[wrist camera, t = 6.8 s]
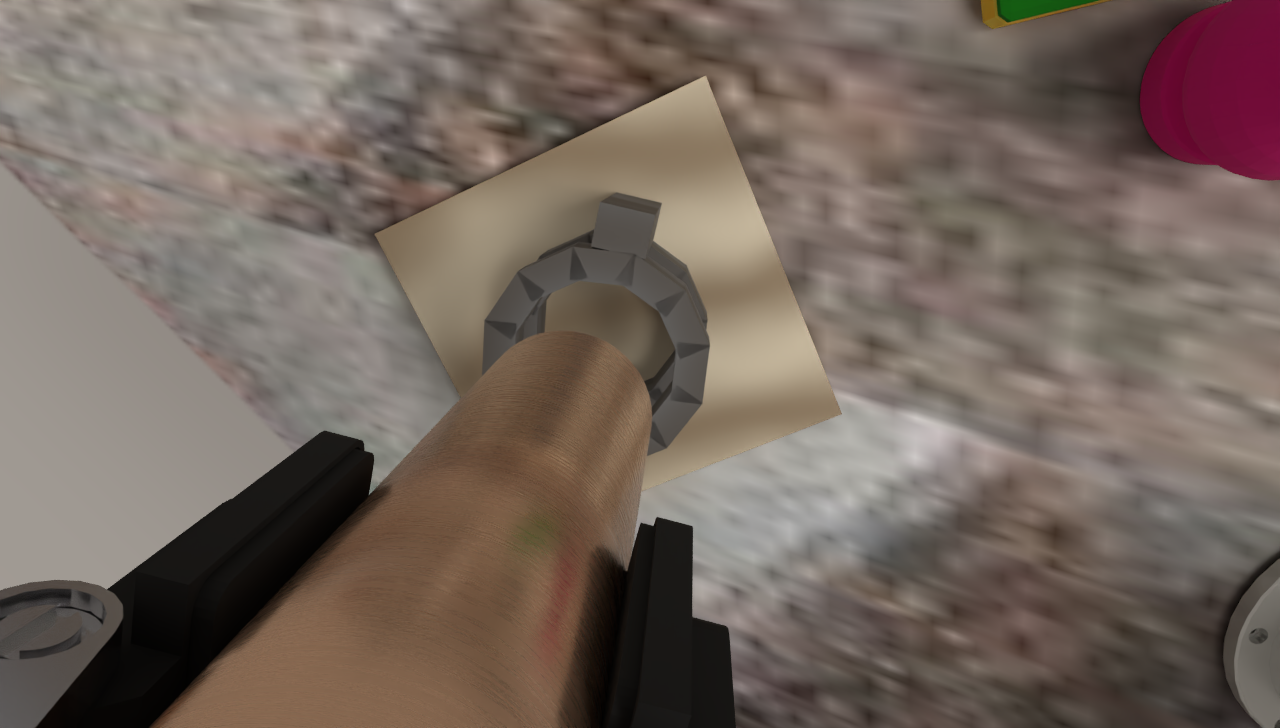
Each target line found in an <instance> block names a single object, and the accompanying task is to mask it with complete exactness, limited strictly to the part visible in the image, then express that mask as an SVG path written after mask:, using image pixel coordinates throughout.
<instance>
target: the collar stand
mask: <svg viewBox="0 0 1280 728" xmlns="http://www.w3.org/2000/svg"><path fill="white" fill-rule="evenodd" d="M375 236H376V238H377V240H378V242H379V243H380V245H381V247H382V249H383V251H384V253H385V255H386V257H387V259H388V261H389V262H390V264H391V266H392V268H393V270H394V272H395V274H396V276H397V278H398V280H399V281H400V283H401V285H402V287H403V289H404V291H405V293H406V295H407V297H408V299H409V300H410V302H411V304H412V306H413V308H414V310H415V312H416V314H417V316H418V318H419V319H420V321H421V323H422V325H423V327H424V329H425V331H426V333H427V335H428V336H429V338H430V340H431V342H432V344H433V346H434V348H435V350H436V352H437V354H438V355H439V357H440V359H441V361H442V363H443V365H444V367H445V369H446V371H447V373H448V374H449V376H450V378H451V380H452V382H453V384H454V386H455V388H456V390H457V392H458V393H459V395H460V397H461V398H462V397H463V396H464V395H465V394H466V393H467V392H468V390H469V389H470V388H471V387H472V386H473V385H474V384H475V383H476V382H477V381H478V380H479V379H480V378H481V377H482V376H483V375H484V374H485V373H486V372H487V370H488V369H489V368H490V367H491V366H492V365H493V364H494V363H495V362H496V361H497V360H498V359H499V358H500V357H501V356H502V355H503V354H504V353H505V352H506V351H507V350H508V349H509V348H511V347H512V346H514V345H515V344H517V343H518V342H520V341H522V340H524V339H526V338H528V337H530V336H533V335H536V334H539V333H544V332H549V331H575V332H580V333H585V334H588V335H591V336H594V337H597V338H599V339H601V340H603V341H605V342H607V343H609V344H610V345H612V346H613V347H615V348H616V349H618V350H619V351H620V352H621V353H622V354H624V355H625V356H626V357H627V358H628V359H629V360H630V361H631V363H632V364H633V365H634V366H635V368H636V369H637V370H638V372H639V373H640V375H641V377H642V379H643V381H644V383H645V385H646V388H647V390H648V393H649V397H650V401H651V407H652V426H651V433H650V439H649V446H648V452H647V458H646V464H645V471H644V477H643V483H642V490H641V491H643V490H646V489H649V488H651V487H654V486H656V485H659V484H662V483H664V482H667V481H669V480H672V479H675V478H677V477H680V476H682V475H685V474H688V473H690V472H693V471H695V470H698V469H701V468H703V467H706V466H708V465H711V464H713V463H716V462H719V461H721V460H724V459H726V458H729V457H732V456H734V455H737V454H739V453H742V452H745V451H747V450H750V449H752V448H755V447H758V446H760V445H763V444H765V443H768V442H771V441H773V440H776V439H778V438H781V437H784V436H786V435H789V434H791V433H794V432H796V431H799V430H802V429H804V428H807V427H809V426H812V425H815V424H817V423H820V422H822V421H825V420H828V419H830V418H833V417H835V416H838V415H841V414H842V413H841V411H840V408H839V406H838V403H837V401H836V398H835V396H834V393H833V391H832V388H831V386H830V383H829V381H828V379H827V376H826V374H825V371H824V369H823V366H822V364H821V361H820V359H819V356H818V354H817V351H816V349H815V346H814V344H813V341H812V339H811V336H810V334H809V331H808V329H807V326H806V324H805V321H804V319H803V316H802V314H801V312H800V309H799V307H798V304H797V302H796V299H795V297H794V294H793V292H792V289H791V287H790V284H789V282H788V279H787V277H786V274H785V272H784V269H783V267H782V264H781V262H780V259H779V257H778V254H777V252H776V249H775V247H774V245H773V242H772V240H771V237H770V235H769V232H768V230H767V227H766V225H765V222H764V220H763V217H762V215H761V212H760V210H759V207H758V205H757V202H756V200H755V197H754V195H753V192H752V190H751V187H750V185H749V182H748V180H747V177H746V175H745V173H744V170H743V168H742V165H741V163H740V160H739V158H738V155H737V153H736V150H735V148H734V145H733V143H732V140H731V138H730V135H729V133H728V130H727V128H726V125H725V123H724V120H723V118H722V115H721V113H720V110H719V108H718V106H717V103H716V101H715V98H714V96H713V93H712V91H711V88H710V86H709V83H708V81H707V78H706V76H704V77H702V78H700V79H698V80H696V81H693V82H691V83H689V84H687V85H685V86H683V87H681V88H679V89H677V90H675V91H673V92H670V93H668V94H666V95H664V96H662V97H660V98H658V99H656V100H654V101H652V102H650V103H647V104H645V105H643V106H641V107H639V108H637V109H635V110H633V111H631V112H629V113H627V114H624V115H622V116H620V117H618V118H616V119H614V120H612V121H610V122H608V123H606V124H604V125H601V126H599V127H597V128H595V129H593V130H591V131H589V132H587V133H585V134H583V135H581V136H578V137H576V138H574V139H572V140H570V141H568V142H566V143H564V144H562V145H560V146H558V147H555V148H553V149H551V150H549V151H547V152H545V153H543V154H541V155H539V156H537V157H535V158H532V159H530V160H528V161H526V162H524V163H522V164H520V165H518V166H516V167H514V168H512V169H509V170H507V171H505V172H503V173H501V174H499V175H497V176H495V177H493V178H491V179H489V180H486V181H484V182H482V183H480V184H478V185H476V186H474V187H472V188H470V189H468V190H466V191H463V192H461V193H459V194H457V195H455V196H453V197H451V198H449V199H447V200H445V201H443V202H440V203H438V204H436V205H434V206H432V207H430V208H428V209H426V210H424V211H422V212H420V213H417V214H415V215H413V216H411V217H409V218H407V219H405V220H403V221H401V222H399V223H397V224H394V225H392V226H390V227H388V228H386V229H384V230H382V231H380V232H378V233H376V234H375Z"/></svg>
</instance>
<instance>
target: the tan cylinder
mask: <svg viewBox="0 0 1280 728" xmlns="http://www.w3.org/2000/svg"><path fill="white" fill-rule="evenodd" d="M651 426H652V407H651V401H650V397H649V393H648V390H647V388H646V385H645V383H644V381H643V379H642V377H641V375H640V373H639V372H638V370H637V369H636V368H635V366H634V365H633V364H632V363H631V361H630V360H629V359H628V358H627V357H626V356H625V355H624V354H622V353H621V352H620V351H619V350H618V349H616V348H615V347H613V346H612V345H610V344H609V343H607V342H605V341H603V340H601V339H599V338H597V337H594V336H591V335H588V334H585V333H580V332H575V331H549V332H544V333H539V334H536V335H533V336H530V337H528V338H526V339H524V340H522V341H520V342H518V343H517V344H515V345H514V346H512V347H511V348H509V349H508V350H507V351H506V352H505V353H504V354H503V355H502V356H501V357H500V358H499V359H498V360H497V361H496V362H495V363H494V364H493V365H492V366H491V367H490V368H489V369H488V370H487V372H486V373H485V374H484V375H483V376H482V377H481V378H480V379H479V380H478V381H477V382H476V383H475V384H474V385H473V386H472V387H471V388H470V389H469V390H468V392H467V393H466V394H465V395H464V396H463V397H462V398H461V399H460V400H459V401H458V402H457V403H456V404H455V405H454V406H453V407H452V408H451V409H450V411H449V412H448V413H447V414H446V415H445V416H444V417H443V418H442V419H441V420H440V421H439V422H438V423H437V424H436V425H435V426H434V427H433V428H432V429H431V431H430V432H429V433H428V434H427V435H426V436H425V437H424V438H423V439H422V440H421V441H420V442H419V443H418V444H417V445H416V446H415V447H414V448H413V450H412V451H411V452H410V453H409V454H408V455H407V456H406V457H405V458H404V459H403V460H402V461H401V462H400V463H399V464H398V465H397V466H396V467H395V469H394V470H393V471H392V472H391V473H390V474H389V475H388V476H387V477H386V478H385V479H384V480H383V481H382V482H381V483H380V484H379V485H378V486H377V487H376V489H375V490H374V491H373V492H372V493H371V494H370V495H369V496H368V497H367V498H366V499H365V500H364V501H363V502H362V503H361V504H360V505H359V506H358V508H357V509H356V510H355V511H354V512H353V513H352V514H351V515H350V516H349V517H348V518H347V519H346V520H345V521H344V522H343V523H342V524H341V525H340V526H339V528H338V529H337V530H336V531H335V532H334V533H333V534H332V535H331V536H330V537H329V538H328V539H327V540H326V541H325V542H324V543H323V544H322V545H321V547H320V548H319V549H318V550H317V551H316V552H315V553H314V554H313V555H312V556H311V557H310V558H309V559H308V560H307V561H306V562H305V563H304V564H303V565H302V567H301V568H300V569H299V570H298V571H297V572H296V573H295V574H294V575H293V576H292V577H291V578H290V579H289V580H288V581H287V582H286V583H285V584H284V586H283V587H282V588H281V589H280V590H279V591H278V592H277V593H276V594H275V595H274V596H273V597H272V598H271V599H270V600H269V601H268V602H267V603H266V605H265V606H264V607H263V608H262V609H261V610H260V611H259V612H258V613H257V614H256V615H255V616H254V617H253V618H252V619H251V620H250V621H249V622H248V623H247V625H246V626H245V627H244V628H243V629H242V630H241V631H240V632H239V633H238V634H237V635H236V636H235V637H234V638H233V639H232V640H231V641H230V642H229V644H228V645H227V646H226V647H225V648H224V649H223V650H222V651H221V652H220V653H219V654H218V655H217V656H216V657H215V658H214V659H213V660H212V661H211V662H210V664H209V665H208V666H207V667H206V668H205V669H204V670H203V671H202V672H201V673H200V674H199V675H198V676H197V677H196V678H195V679H194V680H193V681H192V683H191V684H190V685H189V686H188V687H187V688H186V689H185V690H184V691H183V692H182V693H181V694H180V695H179V696H178V697H177V698H176V699H175V700H174V702H173V703H172V704H171V705H170V706H169V707H168V708H167V709H166V710H165V711H164V712H163V713H162V714H161V715H160V716H159V717H158V718H157V719H156V720H155V722H154V723H153V724H152V725H151V726H150V727H149V728H601V727H602V720H603V714H604V708H605V702H606V696H607V690H608V684H609V678H610V672H611V666H612V659H613V653H614V647H615V641H616V635H617V629H618V623H619V617H620V611H621V604H622V598H623V592H624V586H625V580H626V574H627V569H628V566H629V562H630V559H631V552H632V546H633V540H634V534H635V527H636V521H637V515H638V508H639V502H640V496H641V490H642V483H643V477H644V471H645V464H646V458H647V452H648V446H649V439H650V433H651Z"/></svg>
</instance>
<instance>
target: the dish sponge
mask: <svg viewBox="0 0 1280 728" xmlns="http://www.w3.org/2000/svg"><path fill="white" fill-rule="evenodd" d="M1107 1H1111V0H981V8H982V18H983V23H985V24H986V25H987V26H989V27H990V28H992V29H995V28H999V27H1003V26H1007V25H1011V24H1015V23H1020V22H1024V21H1028V20H1032V19H1036V18H1040V17H1045V16H1049V15H1053V14H1057V13H1061V12H1065V11H1069V10H1074V9H1078V8H1082V7H1086V6H1090V5H1094V4H1098V3H1103V2H1107Z"/></svg>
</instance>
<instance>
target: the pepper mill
mask: <svg viewBox="0 0 1280 728" xmlns="http://www.w3.org/2000/svg"><path fill="white" fill-rule="evenodd" d="M1140 109H1141V115H1142V118H1143V122H1144V125H1145V127H1146V129H1147V131H1148V133H1149V135H1150V136H1151V138H1152V139H1153V141H1154V142H1155V143H1156V144H1157V145H1158V146H1159V147H1160V148H1161V149H1162V150H1163V151H1165V152H1166V153H1167V154H1169V155H1170V156H1172V157H1174V158H1176V159H1178V160H1181V161H1184V162H1188V163H1193V164H1202V165H1219V166H1220V167H1222V168H1224V169H1226V170H1228V171H1230V172H1232V173H1235V174H1238V175H1242V176H1245V177H1249V178H1252V179H1261V180H1280V0H1232V1H1230V2H1227V3H1223V4H1219V5H1216V6H1213V7H1209V8H1207V9H1204V10H1202V11H1200V12H1198V13H1196V14H1194V15H1192V16H1190V17H1189V18H1187V19H1185V20H1184V21H1183V22H1181V23H1180V24H1179V25H1177V26H1176V27H1175V28H1174V29H1173V30H1172V31H1171V32H1170V33H1169V34H1168V35H1167V36H1166V37H1165V38H1164V39H1163V40H1162V42H1161V43H1160V44H1159V46H1158V47H1157V49H1156V50H1155V52H1154V53H1153V55H1152V57H1151V58H1150V60H1149V62H1148V65H1147V67H1146V70H1145V73H1144V76H1143V80H1142V84H1141V92H1140Z"/></svg>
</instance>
